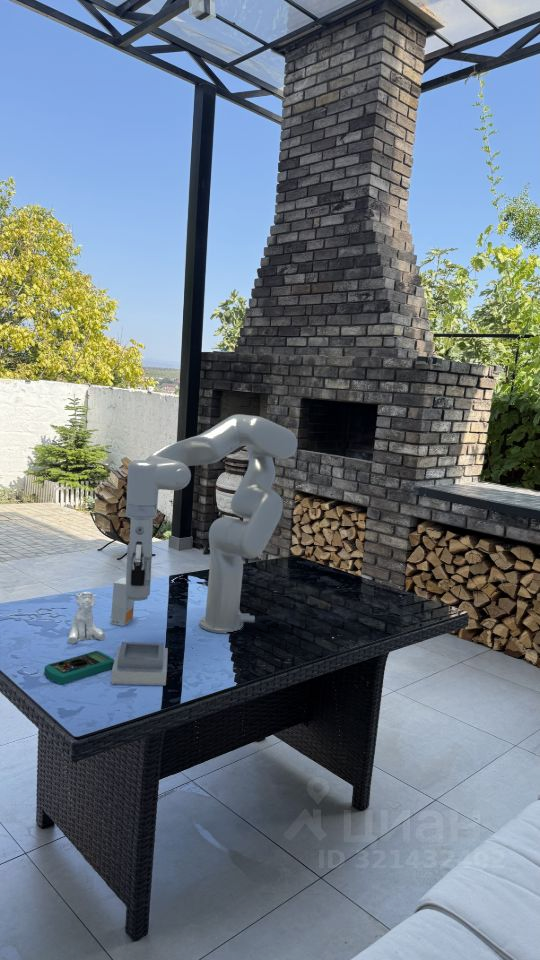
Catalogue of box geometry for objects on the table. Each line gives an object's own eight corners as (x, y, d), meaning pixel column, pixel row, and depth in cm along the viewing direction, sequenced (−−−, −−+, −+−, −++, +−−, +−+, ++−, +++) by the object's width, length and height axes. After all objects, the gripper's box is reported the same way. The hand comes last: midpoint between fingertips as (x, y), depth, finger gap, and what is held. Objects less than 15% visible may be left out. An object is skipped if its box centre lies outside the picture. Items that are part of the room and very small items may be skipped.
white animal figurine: (68, 645, 159) (71, 599, 157) (60, 633, 166) (62, 588, 164) (105, 640, 164) (108, 595, 162) (95, 629, 171) (98, 586, 170)
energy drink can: (148, 593, 163) (150, 536, 161) (151, 601, 157) (154, 542, 155) (124, 594, 161) (126, 536, 159) (126, 602, 155) (129, 542, 153)
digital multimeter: (41, 676, 141) (41, 663, 141) (97, 659, 153) (98, 648, 152) (59, 688, 137) (60, 675, 136) (116, 669, 148) (116, 657, 148)
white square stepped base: (166, 659, 155) (168, 640, 155) (165, 685, 142) (167, 664, 141) (117, 658, 154) (118, 638, 153) (110, 684, 140) (112, 662, 139)
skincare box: (124, 626, 175) (127, 584, 173) (110, 624, 175) (113, 582, 174) (133, 619, 180) (136, 579, 179) (119, 617, 181) (122, 576, 180)
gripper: (155, 518, 148) (152, 592, 150) (158, 504, 165) (154, 571, 167) (123, 517, 147) (119, 591, 149) (129, 503, 164) (126, 570, 166)
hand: (138, 580), depth 158 cm, fingers closed on energy drink can, 6 cm apart
